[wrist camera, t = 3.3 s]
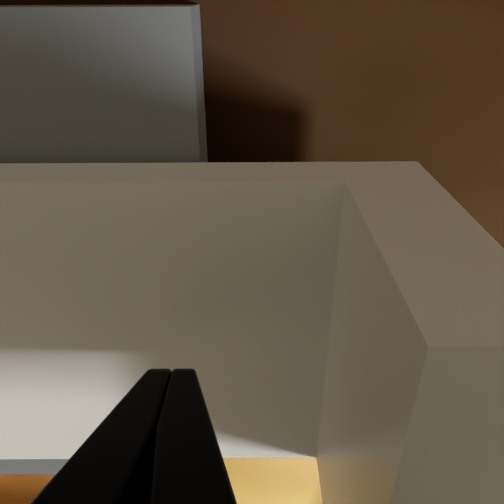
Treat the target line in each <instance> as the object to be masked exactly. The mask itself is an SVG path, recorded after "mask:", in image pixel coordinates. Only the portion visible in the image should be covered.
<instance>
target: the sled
mask: <svg viewBox="0 0 504 504" xmlns="http://www.w3.org/2000/svg"><path fill="white" fill-rule="evenodd" d="M154 368H168V369H170V370H171V371H173V369H176V368H193V369H194V370H195V371H196V374H197V377H198V380H199V383H200V386H201V390H202V393H203V396H204V399H205V403H206V406H207V409H208V412H209V415H210V419H211V422H212V425H213V428H214V432H215V435H216V438H217V441H218V445H219V448H220V451H221V454H222V457H223V458H317V464H318V471H319V478H320V485H321V492H322V499H323V504H504V249H503V248H502V247H501V245H500V244H499V243H498V242H497V241H496V240H495V239H494V238H493V237H492V236H491V235H490V234H489V233H488V232H487V231H486V230H485V229H484V228H483V227H482V226H481V225H480V224H479V223H478V222H477V221H476V220H475V219H474V218H473V217H472V216H471V215H470V214H469V213H468V212H467V211H466V210H465V209H464V208H463V207H462V206H461V205H460V204H459V203H458V202H457V201H456V200H455V199H454V198H453V197H452V196H451V195H450V194H449V193H448V192H447V191H446V190H445V189H444V188H443V187H442V186H441V185H440V184H439V183H438V182H437V181H436V180H435V179H434V178H433V177H432V176H431V175H430V174H429V173H428V172H427V171H426V170H425V169H424V168H423V167H422V166H421V165H420V164H419V163H418V162H417V161H409V162H191V163H0V459H70V458H71V456H72V455H73V454H74V453H75V452H76V451H77V450H78V448H79V447H80V446H81V445H82V444H83V443H84V442H85V441H86V439H87V438H88V437H89V436H90V435H91V434H92V433H93V431H94V430H95V429H96V428H97V427H98V426H99V425H100V423H101V422H102V421H103V420H104V419H105V418H106V417H107V415H108V414H109V413H110V412H111V411H112V410H113V409H114V408H115V406H116V405H117V404H118V403H119V402H120V401H121V400H122V398H123V397H124V396H125V395H126V394H127V393H128V392H129V390H130V389H131V388H132V387H133V386H134V385H135V384H136V382H137V381H138V380H139V379H140V378H141V377H142V376H143V375H144V373H145V372H146V371H147V370H149V369H154Z"/></svg>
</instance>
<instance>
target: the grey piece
mask: <svg viewBox="0 0 504 504" xmlns="http://www.w3.org/2000/svg"><path fill="white" fill-rule="evenodd" d="M191 162H208V155H207V137H206V118H205V99H204V80H203V61H202V43H201V24H200V5H199V4H166V5H0V163H191ZM68 460H69V459H0V475H56V474H57V472H58V471H59V470H60V469H61V468H62V467H63V466H64V464H65V463H66V462H67V461H68Z"/></svg>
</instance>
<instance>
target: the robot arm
mask: <svg viewBox="0 0 504 504" xmlns="http://www.w3.org/2000/svg"><path fill="white" fill-rule="evenodd" d="M30 504H237V503H236V499H235V496H234V493H233V490H232V486H231V483H230V480H229V477H228V474H227V470H226V467H225V464H224V461H223V457H222V454H221V451H220V448H219V445H218V441H217V438H216V435H215V432H214V428H213V425H212V422H211V419H210V415H209V412H208V409H207V406H206V403H205V399H204V396H203V393H202V390H201V386H200V383H199V380H198V377H197V374H196V371H195V370H194V369H193V368H176V369H173V371H171V370H170V369H168V368H154V369H149V370H147V371H146V372H145V373H144V375H143V376H142V377H141V378H140V379H139V380H138V381H137V382H136V384H135V385H134V386H133V387H132V388H131V389H130V390H129V392H128V393H127V394H126V395H125V396H124V397H123V398H122V400H121V401H120V402H119V403H118V404H117V405H116V406H115V408H114V409H113V410H112V411H111V412H110V413H109V414H108V415H107V417H106V418H105V419H104V420H103V421H102V422H101V423H100V425H99V426H98V427H97V428H96V429H95V430H94V431H93V433H92V434H91V435H90V436H89V437H88V438H87V439H86V441H85V442H84V443H83V444H82V445H81V446H80V447H79V448H78V450H77V451H76V452H75V453H74V454H73V455H72V456H71V458H70V459H69V460H68V461H67V462H66V463H65V464H64V466H63V467H62V468H61V469H60V470H59V471H58V472H57V474H56V475H55V476H54V477H53V478H52V479H51V480H50V481H49V483H48V484H47V485H46V486H45V487H44V488H43V489H42V491H41V492H40V493H39V494H38V495H37V496H36V497H35V499H34V500H33V501H32V502H31V503H30Z"/></svg>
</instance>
